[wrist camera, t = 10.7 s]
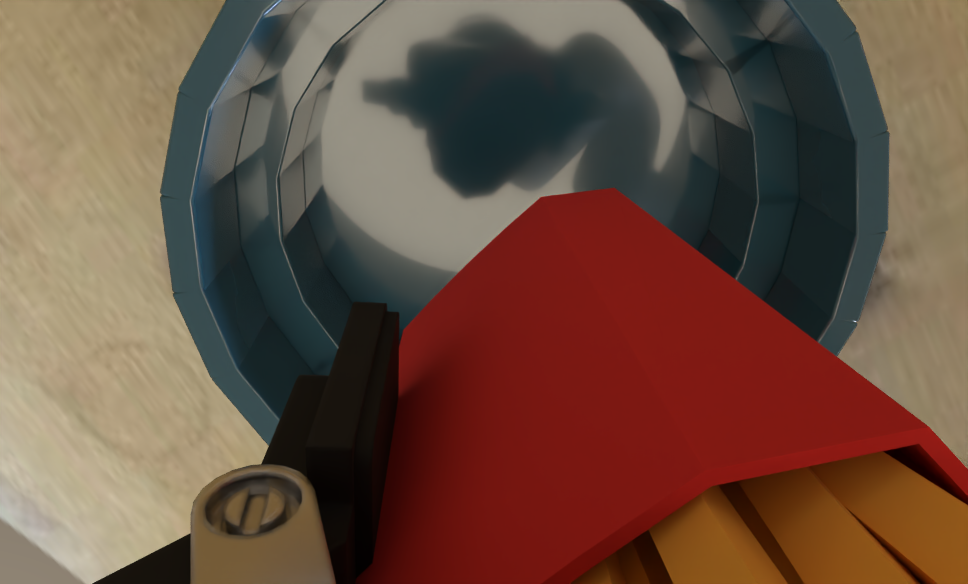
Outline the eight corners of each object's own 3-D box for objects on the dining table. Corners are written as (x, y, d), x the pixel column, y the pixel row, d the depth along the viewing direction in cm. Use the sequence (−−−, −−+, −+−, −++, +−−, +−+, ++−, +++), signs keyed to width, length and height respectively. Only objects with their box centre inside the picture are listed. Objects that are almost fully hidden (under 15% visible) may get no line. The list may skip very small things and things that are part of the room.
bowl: (833, -94, 20) (1002, -127, 14) (714, 414, 28) (789, 545, 21) (222, -139, 19) (104, -196, 13) (265, 398, 27) (203, 530, 20)
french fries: (467, 482, 16) (468, 1504, 5) (336, 383, 15) (-2, 1437, 4) (759, 236, 14) (1816, 1174, 3) (630, 96, 13) (1610, 804, 2)
